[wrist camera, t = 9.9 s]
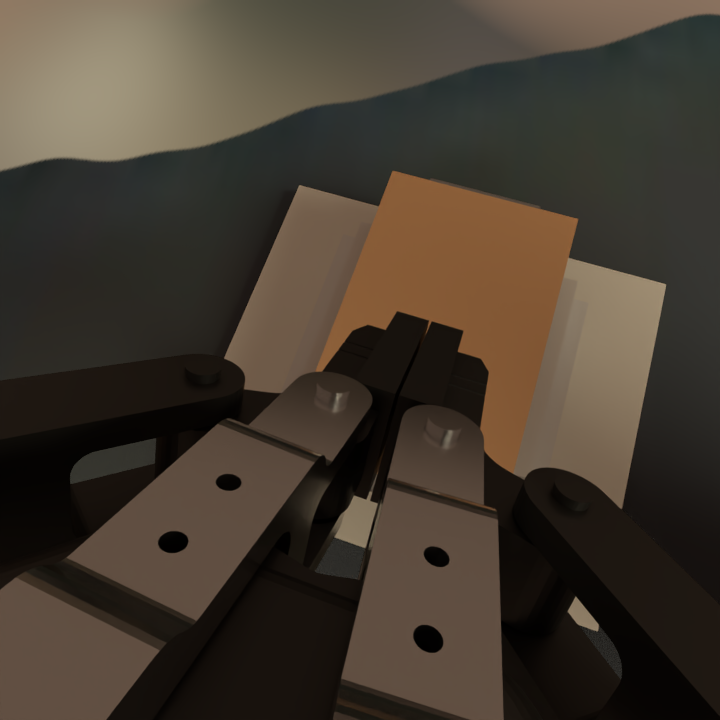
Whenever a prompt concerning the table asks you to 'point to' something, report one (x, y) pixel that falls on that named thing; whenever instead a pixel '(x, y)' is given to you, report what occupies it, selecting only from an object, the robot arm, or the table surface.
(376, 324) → the brown flat panel
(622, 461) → the heatsink board
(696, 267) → the table surface
